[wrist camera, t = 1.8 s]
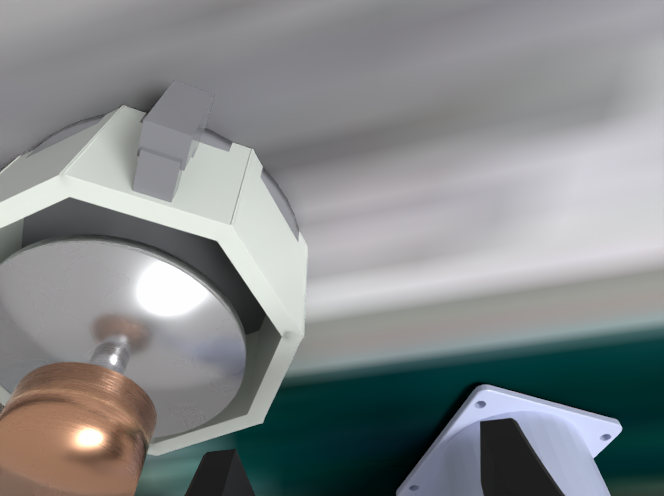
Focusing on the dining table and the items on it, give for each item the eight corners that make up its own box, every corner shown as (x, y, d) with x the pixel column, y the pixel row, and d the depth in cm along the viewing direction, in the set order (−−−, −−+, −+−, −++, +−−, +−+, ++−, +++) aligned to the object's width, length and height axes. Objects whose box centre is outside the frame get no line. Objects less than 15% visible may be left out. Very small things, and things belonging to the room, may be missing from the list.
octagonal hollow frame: (255, 376, 24) (242, 476, 20) (3, 313, 22) (-70, 411, 18) (362, 131, 18) (374, 204, 14) (21, 7, 16) (-87, 50, 12)
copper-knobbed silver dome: (212, 445, 19) (185, 582, 15) (-23, 394, 17) (-118, 534, 14) (280, 282, 15) (266, 413, 11) (-17, 196, 13) (-150, 316, 10)
